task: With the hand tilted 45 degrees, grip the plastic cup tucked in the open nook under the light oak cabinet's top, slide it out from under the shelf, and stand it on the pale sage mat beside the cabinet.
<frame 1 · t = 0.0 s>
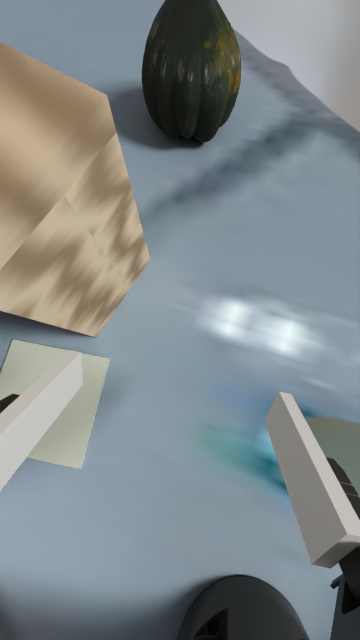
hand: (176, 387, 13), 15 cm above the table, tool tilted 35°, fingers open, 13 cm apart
squash: (187, 125, 37), on the table
mat: (46, 399, 27), on the table
oak cabinet: (55, 255, 32), on the table
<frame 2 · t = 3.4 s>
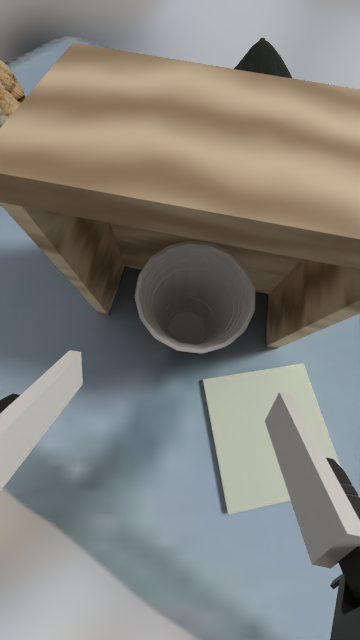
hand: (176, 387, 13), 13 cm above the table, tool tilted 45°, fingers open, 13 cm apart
plastic cup: (186, 331, 29), on the table
squash: (240, 155, 43), on the table
mat: (268, 428, 25), on the table
oak cabinet: (194, 286, 31), on the table
owl figurine: (32, 178, 38), on the table
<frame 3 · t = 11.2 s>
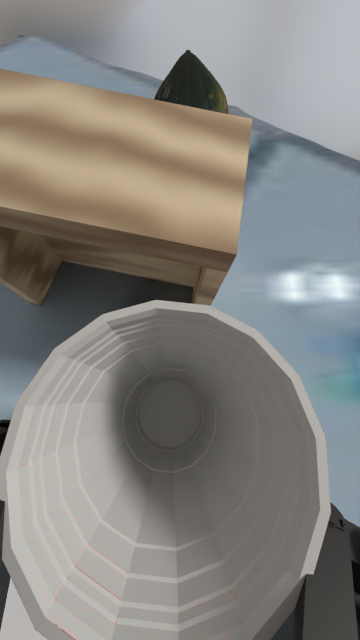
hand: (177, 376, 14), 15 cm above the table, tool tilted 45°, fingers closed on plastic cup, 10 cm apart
plastic cup: (169, 413, 18), point 11 cm above the table, touching gripper
squash: (186, 158, 46), on the table
oak cabinet: (125, 280, 34), on the table
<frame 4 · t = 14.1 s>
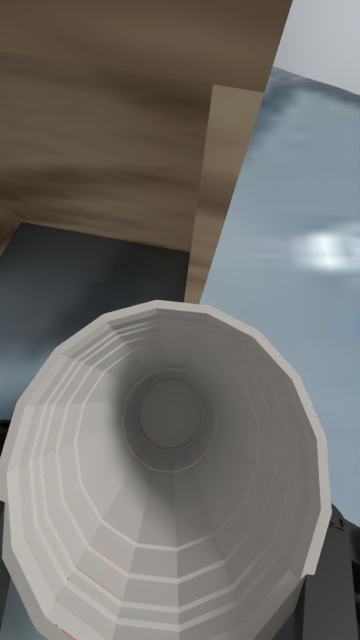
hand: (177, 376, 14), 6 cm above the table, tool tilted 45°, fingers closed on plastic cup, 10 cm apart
plastic cup: (169, 413, 18), point 2 cm above the table, touching gripper
oak cabinet: (104, 244, 26), on the table
when the fingers open (5 cm above the table, at t = 16.0 s): plastic cup stays where it is, resting on mat.
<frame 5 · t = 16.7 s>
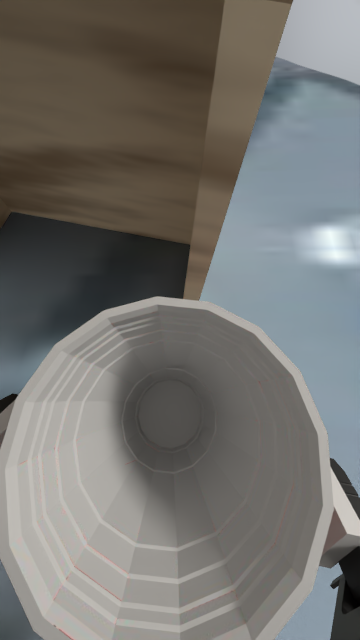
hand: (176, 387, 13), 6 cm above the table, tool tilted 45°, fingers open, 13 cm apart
plastic cup: (169, 414, 18), resting on mat
oak cabinet: (98, 236, 24), on the table
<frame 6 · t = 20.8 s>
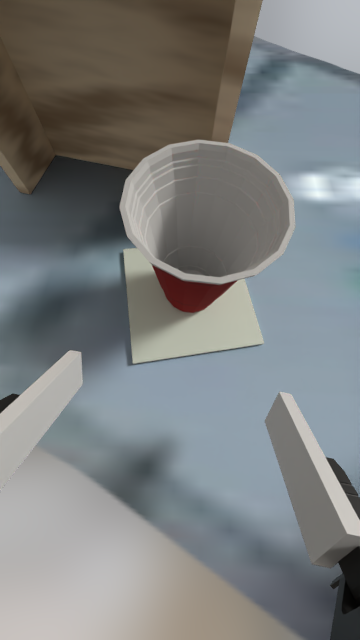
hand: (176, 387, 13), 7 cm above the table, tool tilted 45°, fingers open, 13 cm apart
plastic cup: (188, 292, 23), resting on mat
mat: (188, 295, 24), on the table
oak cabinet: (127, 174, 30), on the table
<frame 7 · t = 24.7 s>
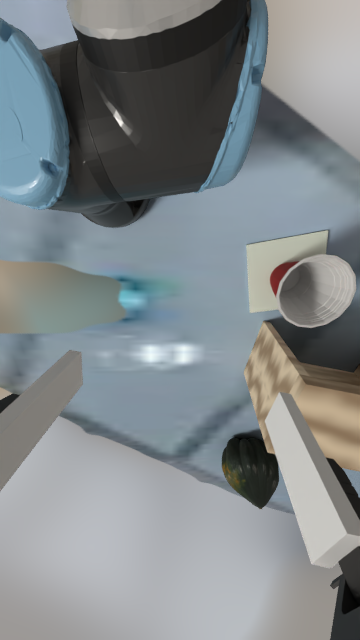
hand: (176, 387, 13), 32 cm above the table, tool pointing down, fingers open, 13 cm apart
plastic cup: (284, 276, 40), resting on mat
squash: (246, 444, 62), on the table
mat: (284, 275, 40), on the table
oak cabinet: (307, 359, 47), on the table
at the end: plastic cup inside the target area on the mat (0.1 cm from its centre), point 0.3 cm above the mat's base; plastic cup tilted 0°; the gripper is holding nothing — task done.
